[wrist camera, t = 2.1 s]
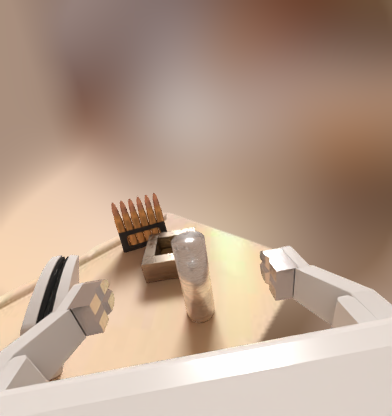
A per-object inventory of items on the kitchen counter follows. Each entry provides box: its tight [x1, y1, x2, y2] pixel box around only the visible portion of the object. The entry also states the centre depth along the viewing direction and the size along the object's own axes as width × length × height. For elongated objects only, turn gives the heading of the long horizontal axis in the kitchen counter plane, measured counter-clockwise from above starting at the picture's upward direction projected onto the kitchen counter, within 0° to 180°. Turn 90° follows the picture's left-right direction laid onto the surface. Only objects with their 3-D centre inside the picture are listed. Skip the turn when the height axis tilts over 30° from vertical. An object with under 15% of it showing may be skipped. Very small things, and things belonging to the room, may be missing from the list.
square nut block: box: [141, 227, 195, 283], centre depth 37 cm, size 10×10×4 cm
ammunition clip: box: [112, 193, 167, 252], centre depth 43 cm, size 11×2×12 cm, turn 109°
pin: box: [171, 231, 215, 323], centre depth 25 cm, size 4×4×12 cm
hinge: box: [20, 255, 79, 380], centre depth 27 cm, size 17×5×10 cm, turn 24°
